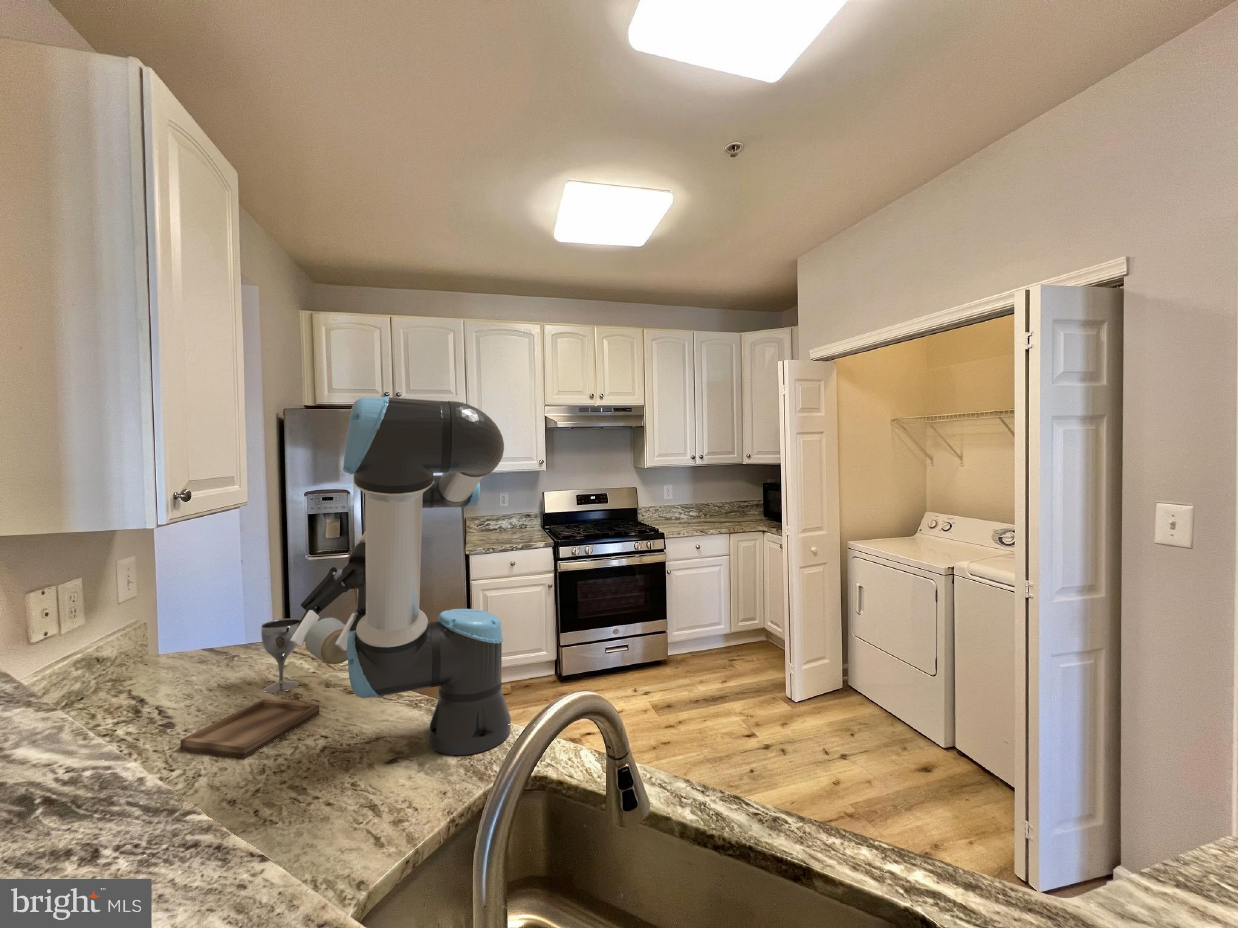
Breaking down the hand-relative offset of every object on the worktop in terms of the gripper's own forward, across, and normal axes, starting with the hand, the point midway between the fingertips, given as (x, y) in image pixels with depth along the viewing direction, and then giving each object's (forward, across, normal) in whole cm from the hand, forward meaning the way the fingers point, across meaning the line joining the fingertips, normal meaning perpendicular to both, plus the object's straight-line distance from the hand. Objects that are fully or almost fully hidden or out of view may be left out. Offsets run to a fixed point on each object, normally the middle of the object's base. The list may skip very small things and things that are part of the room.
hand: (317, 645), depth 99 cm
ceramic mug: (0, 0, -6) cm, 7 cm away
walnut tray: (+13, +13, -11) cm, 21 cm away
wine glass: (0, +26, -24) cm, 36 cm away
